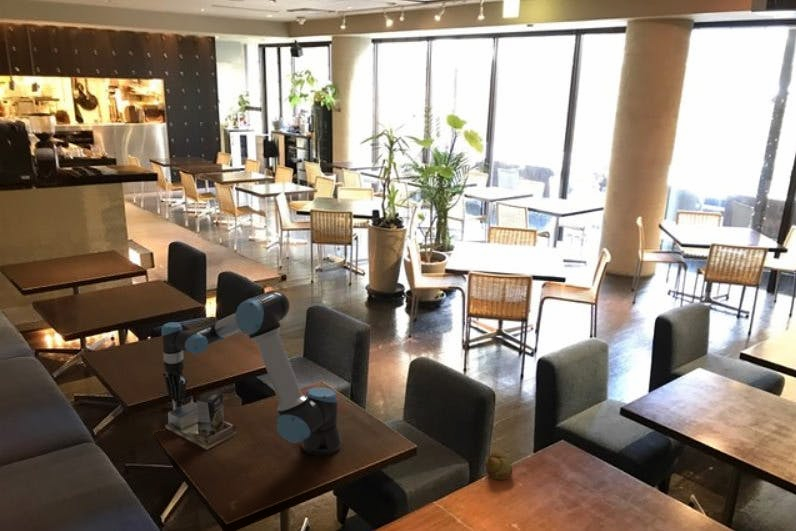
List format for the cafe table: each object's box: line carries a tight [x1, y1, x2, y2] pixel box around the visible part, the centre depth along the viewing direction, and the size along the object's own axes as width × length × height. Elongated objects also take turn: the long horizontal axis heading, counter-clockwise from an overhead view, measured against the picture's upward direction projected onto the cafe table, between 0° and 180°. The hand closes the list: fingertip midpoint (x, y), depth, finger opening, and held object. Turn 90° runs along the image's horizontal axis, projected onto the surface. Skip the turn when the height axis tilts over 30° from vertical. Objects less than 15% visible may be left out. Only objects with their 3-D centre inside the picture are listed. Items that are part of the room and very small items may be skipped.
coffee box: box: [196, 391, 225, 438], centre depth 238 cm, size 9×6×16 cm
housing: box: [167, 401, 198, 430], centre depth 248 cm, size 8×12×5 cm
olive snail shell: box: [485, 451, 513, 481], centre depth 222 cm, size 13×10×8 cm
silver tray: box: [164, 420, 237, 450], centre depth 244 cm, size 26×14×4 cm, turn 55°
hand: (177, 413), depth 251 cm, fingers closed
